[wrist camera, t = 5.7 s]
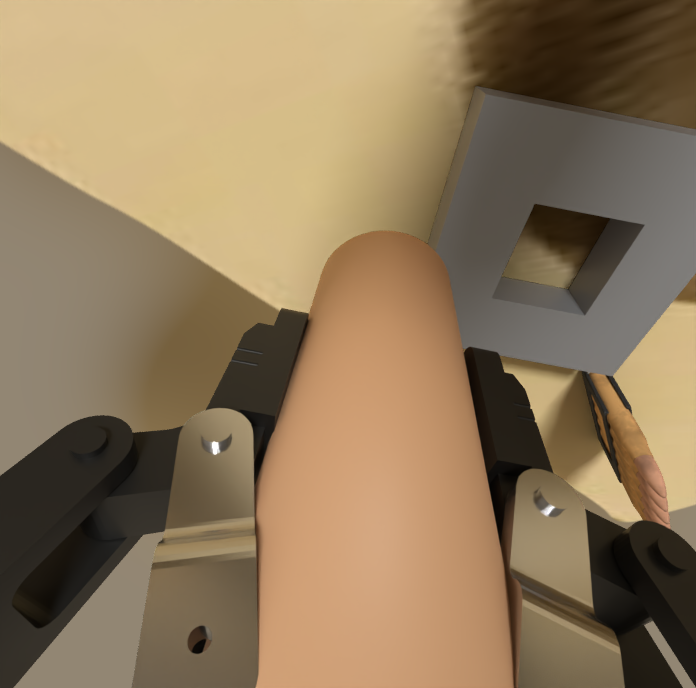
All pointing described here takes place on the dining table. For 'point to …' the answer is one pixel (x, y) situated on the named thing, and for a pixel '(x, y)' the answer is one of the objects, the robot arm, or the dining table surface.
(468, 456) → the peg
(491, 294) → the socket block
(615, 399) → the ammunition clip
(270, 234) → the dining table surface
